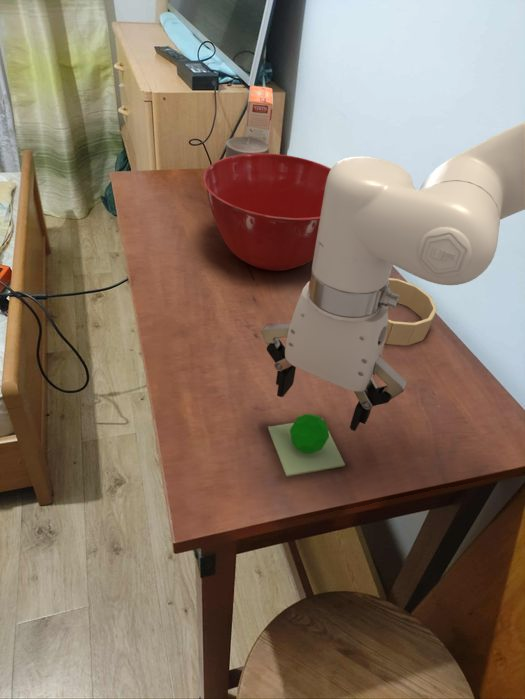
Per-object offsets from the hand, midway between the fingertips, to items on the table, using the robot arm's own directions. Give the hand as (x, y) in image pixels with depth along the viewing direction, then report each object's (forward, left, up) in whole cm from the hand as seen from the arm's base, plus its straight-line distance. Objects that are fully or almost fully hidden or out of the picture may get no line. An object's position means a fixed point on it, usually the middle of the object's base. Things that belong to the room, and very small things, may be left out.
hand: (319, 406), depth 62 cm
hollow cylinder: (+1, -34, -8) cm, 35 cm away
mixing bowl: (+29, -41, -8) cm, 51 cm away
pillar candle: (+46, -58, -8) cm, 74 cm away
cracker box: (+51, -71, -8) cm, 87 cm away
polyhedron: (0, 0, -8) cm, 8 cm away
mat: (+1, 0, -8) cm, 8 cm away
